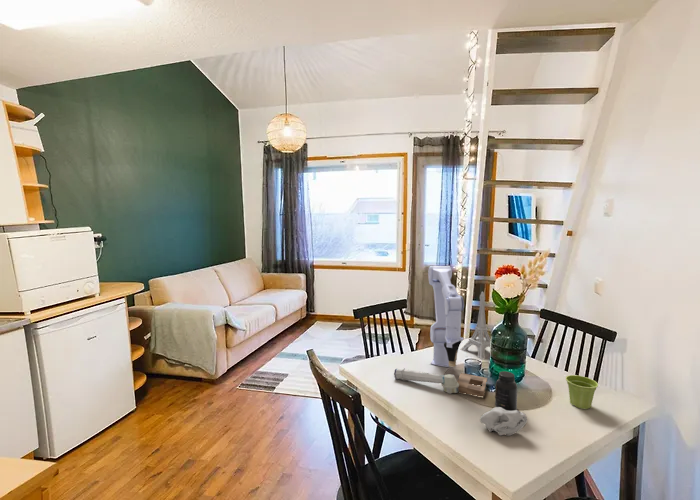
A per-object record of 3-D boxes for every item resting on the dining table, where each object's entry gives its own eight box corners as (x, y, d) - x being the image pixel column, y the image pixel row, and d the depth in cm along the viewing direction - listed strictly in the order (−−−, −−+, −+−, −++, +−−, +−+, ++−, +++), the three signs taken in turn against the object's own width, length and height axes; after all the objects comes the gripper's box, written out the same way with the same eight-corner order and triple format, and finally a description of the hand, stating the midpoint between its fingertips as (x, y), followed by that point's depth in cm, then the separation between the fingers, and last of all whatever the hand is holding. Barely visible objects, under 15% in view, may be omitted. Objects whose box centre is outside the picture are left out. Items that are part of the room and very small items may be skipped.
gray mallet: (397, 366, 142) (459, 371, 130) (399, 381, 143) (461, 388, 130) (392, 371, 138) (455, 376, 125) (394, 387, 138) (457, 394, 125)
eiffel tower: (479, 345, 177) (481, 288, 174) (501, 354, 165) (503, 293, 162) (460, 349, 171) (462, 290, 168) (481, 359, 159) (483, 296, 156)
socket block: (460, 378, 139) (461, 372, 139) (487, 384, 135) (487, 378, 135) (455, 391, 129) (455, 385, 129) (483, 398, 124) (483, 391, 124)
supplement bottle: (499, 400, 123) (501, 367, 122) (519, 407, 118) (521, 374, 117) (491, 407, 118) (492, 374, 117) (512, 415, 113) (513, 380, 112)
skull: (477, 412, 111) (507, 391, 108) (497, 435, 109) (528, 415, 106) (478, 424, 103) (511, 402, 100) (499, 449, 102) (533, 428, 99)
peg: (448, 362, 140) (449, 346, 139) (457, 364, 138) (457, 347, 138) (447, 366, 137) (447, 349, 136) (455, 367, 135) (456, 350, 135)
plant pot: (567, 409, 117) (569, 384, 116) (561, 395, 126) (562, 373, 125) (600, 414, 114) (602, 389, 113) (591, 400, 123) (593, 377, 122)
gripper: (460, 333, 128) (459, 368, 129) (466, 322, 141) (465, 354, 142) (441, 330, 131) (440, 364, 132) (449, 320, 144) (448, 351, 145)
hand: (452, 359), depth 137 cm, fingers closed on peg, 3 cm apart
